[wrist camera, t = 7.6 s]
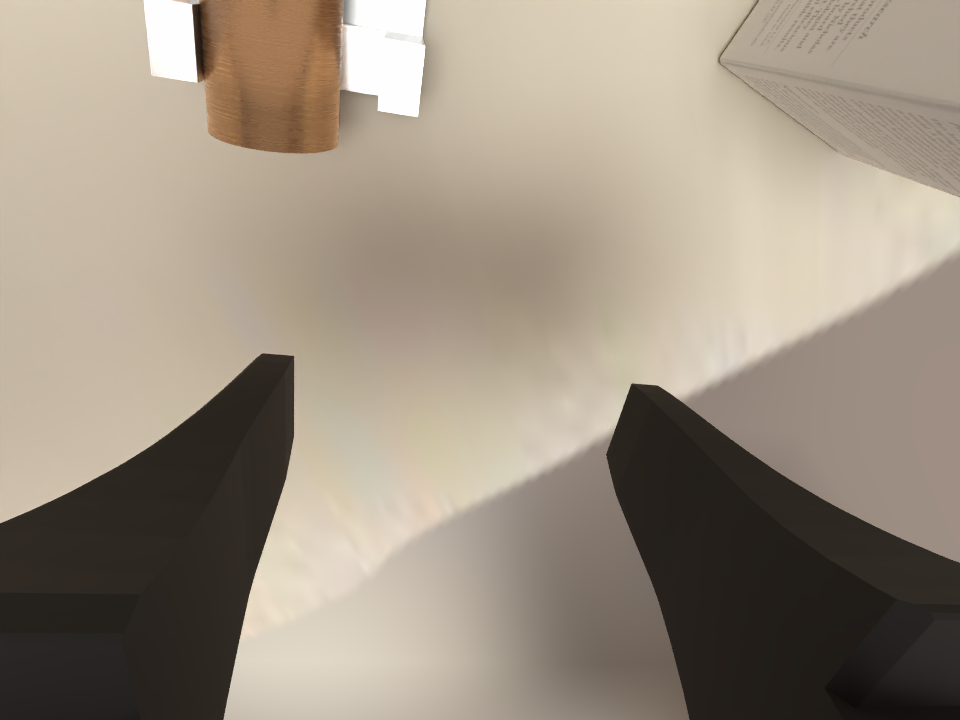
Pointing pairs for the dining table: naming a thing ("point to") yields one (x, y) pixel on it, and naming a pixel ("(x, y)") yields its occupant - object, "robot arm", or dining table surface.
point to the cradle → (365, 47)
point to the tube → (273, 72)
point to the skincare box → (863, 78)
